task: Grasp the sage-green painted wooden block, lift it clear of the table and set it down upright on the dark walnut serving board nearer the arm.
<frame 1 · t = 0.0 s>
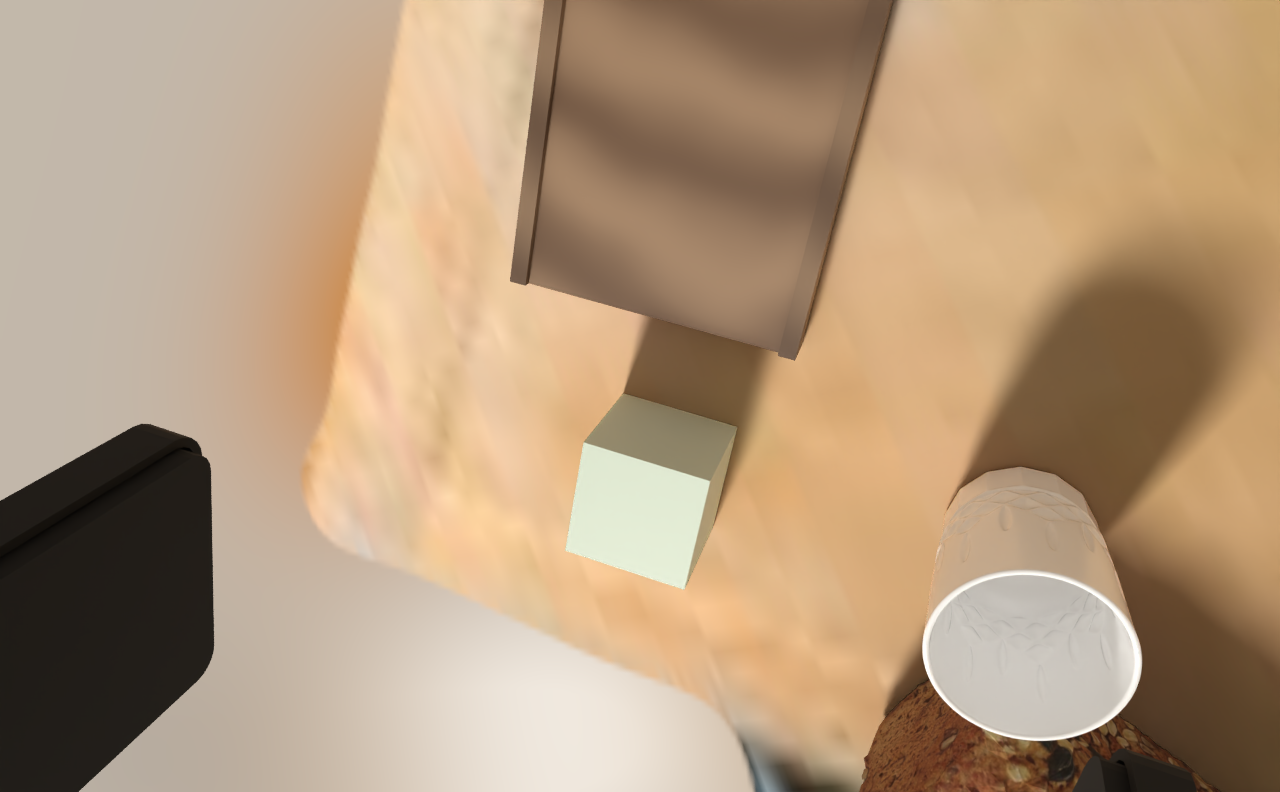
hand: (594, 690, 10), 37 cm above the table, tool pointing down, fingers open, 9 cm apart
sage block: (669, 460, 52), on the table
white cup: (1018, 527, 48), on the table
board: (691, 141, 45), on the table
bread: (1071, 774, 52), on the table
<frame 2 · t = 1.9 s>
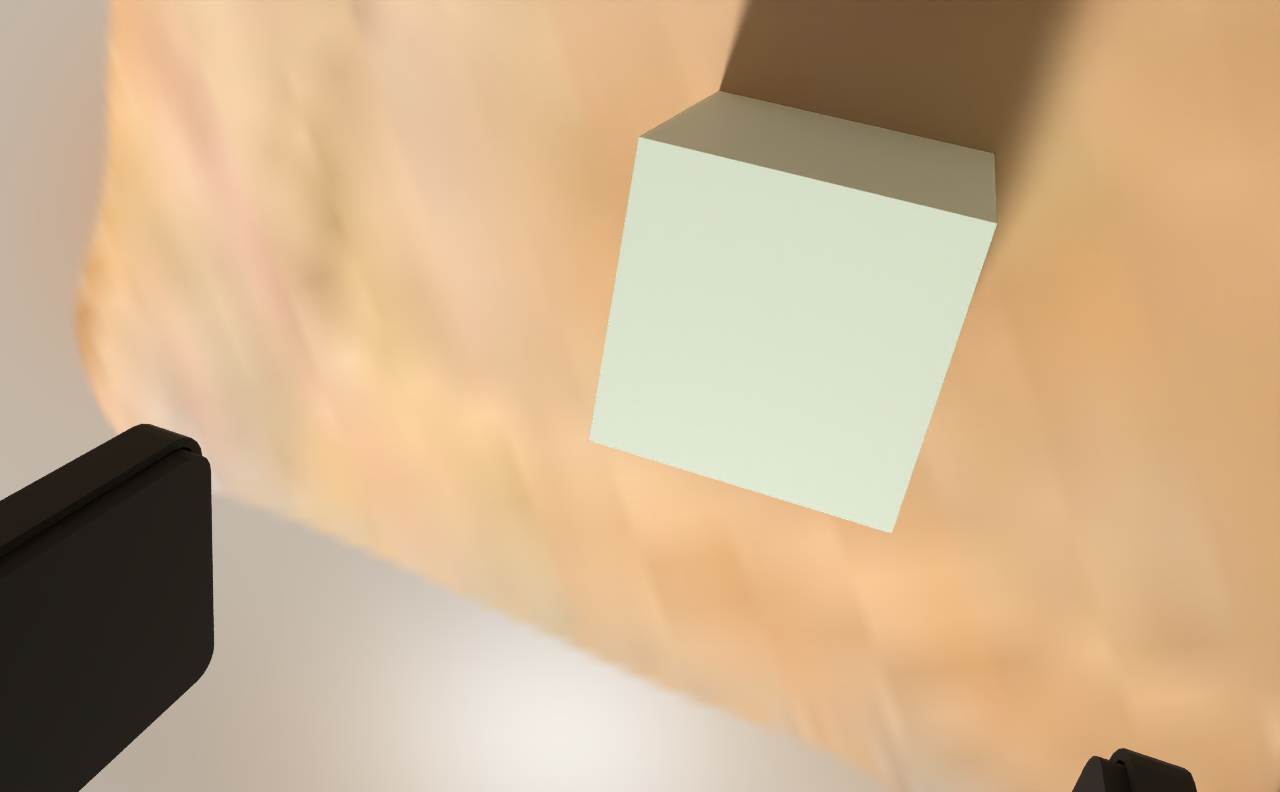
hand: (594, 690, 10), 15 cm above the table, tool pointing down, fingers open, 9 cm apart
sage block: (819, 251, 23), on the table
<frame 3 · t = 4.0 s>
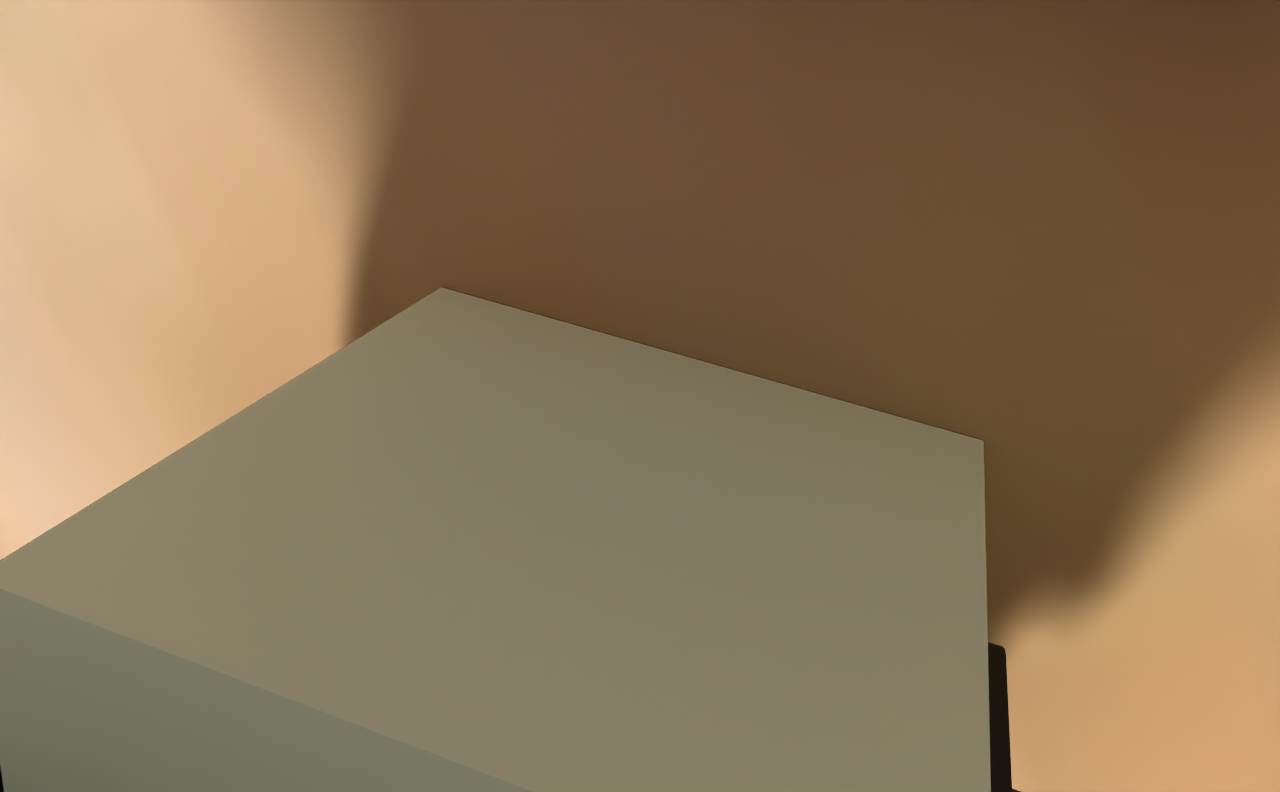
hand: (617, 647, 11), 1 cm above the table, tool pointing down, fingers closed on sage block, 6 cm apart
sage block: (648, 586, 12), on the table, touching gripper
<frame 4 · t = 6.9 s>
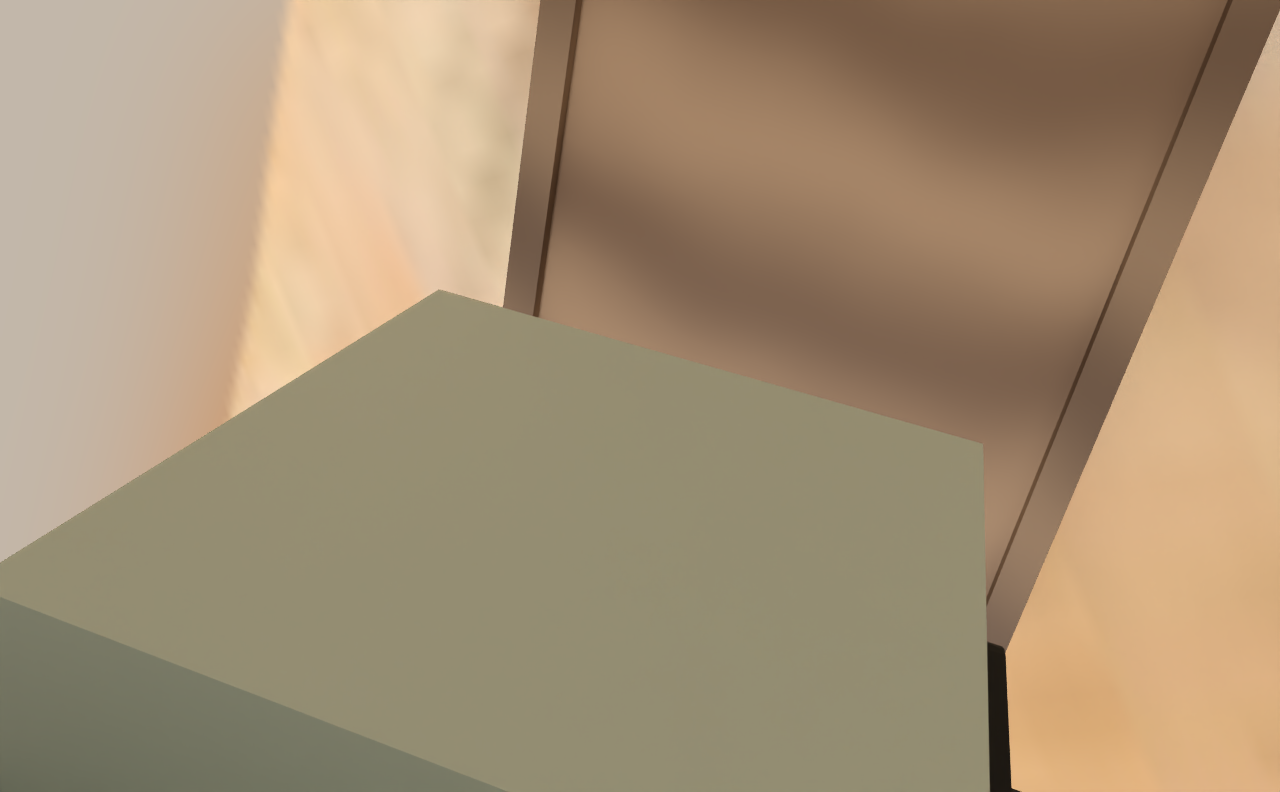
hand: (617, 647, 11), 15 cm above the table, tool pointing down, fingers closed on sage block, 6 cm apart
sage block: (647, 589, 12), point 14 cm above the table, touching gripper
board: (812, 268, 24), on the table
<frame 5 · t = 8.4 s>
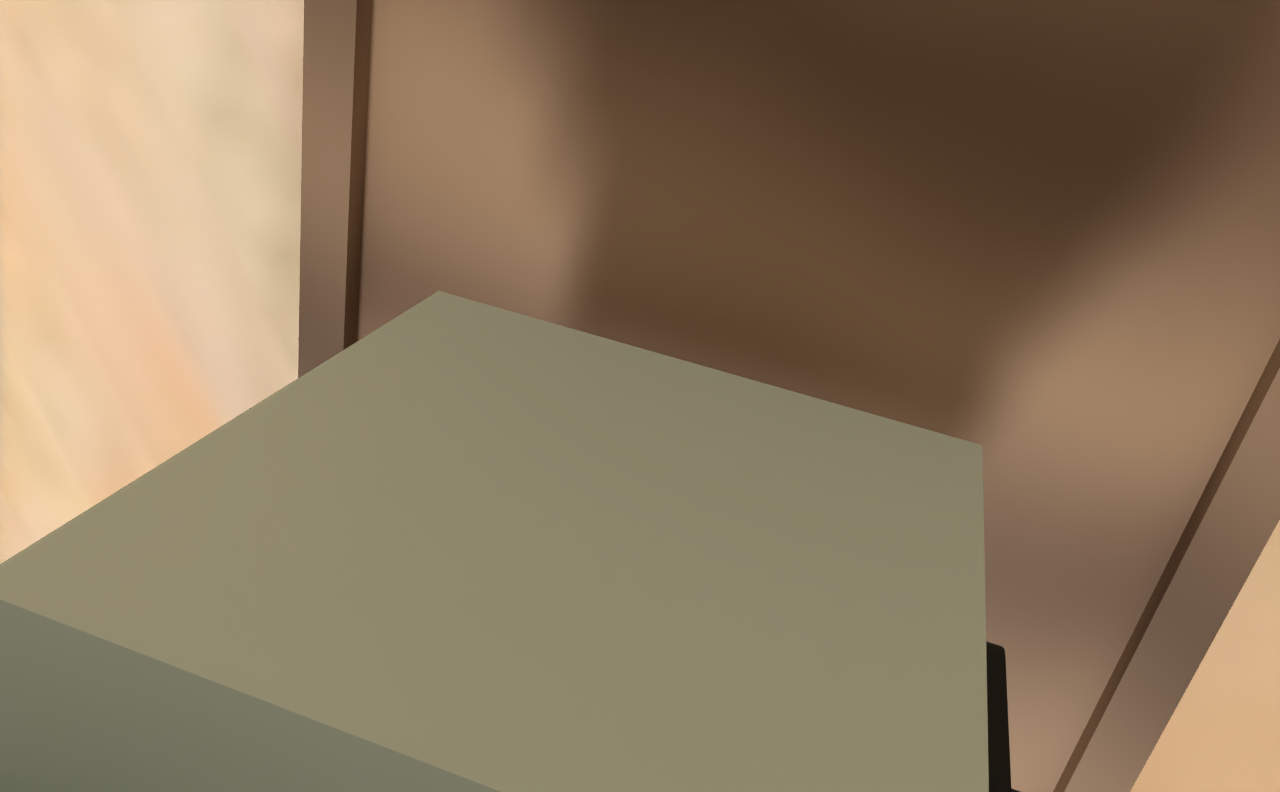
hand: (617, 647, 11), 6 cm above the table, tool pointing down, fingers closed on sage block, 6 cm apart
sage block: (646, 590, 12), point 5 cm above the table, touching gripper
board: (749, 397, 16), on the table
when the fingers open (4 cm above the table, at t = 9.8 s): sage block drops 1 cm, resting on board.
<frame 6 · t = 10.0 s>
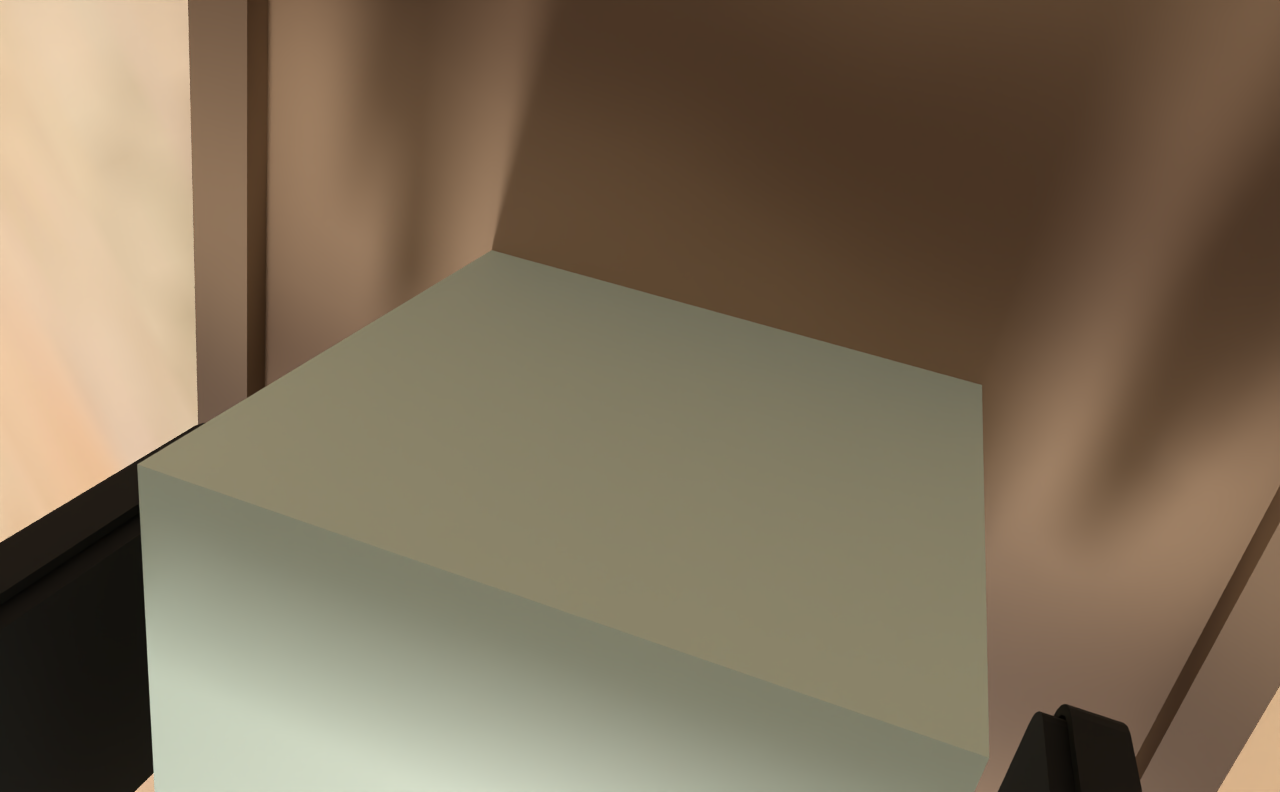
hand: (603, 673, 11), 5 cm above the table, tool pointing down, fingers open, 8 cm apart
sage block: (676, 525, 13), point 1 cm above the table, touching board
board: (704, 478, 15), on the table
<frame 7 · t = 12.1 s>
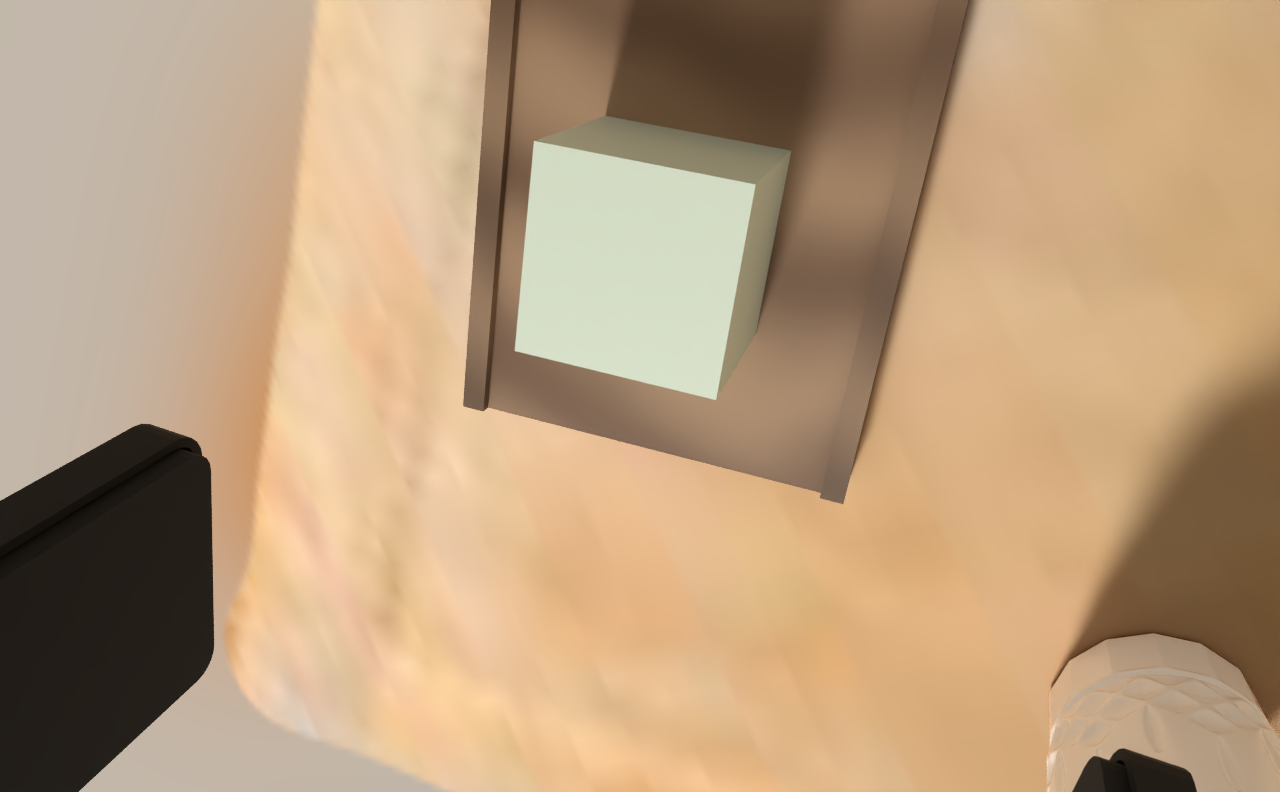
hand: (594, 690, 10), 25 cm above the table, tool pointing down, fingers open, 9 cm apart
sage block: (681, 226, 33), point 1 cm above the table, touching board
white cup: (1148, 709, 36), on the table
board: (693, 219, 34), on the table
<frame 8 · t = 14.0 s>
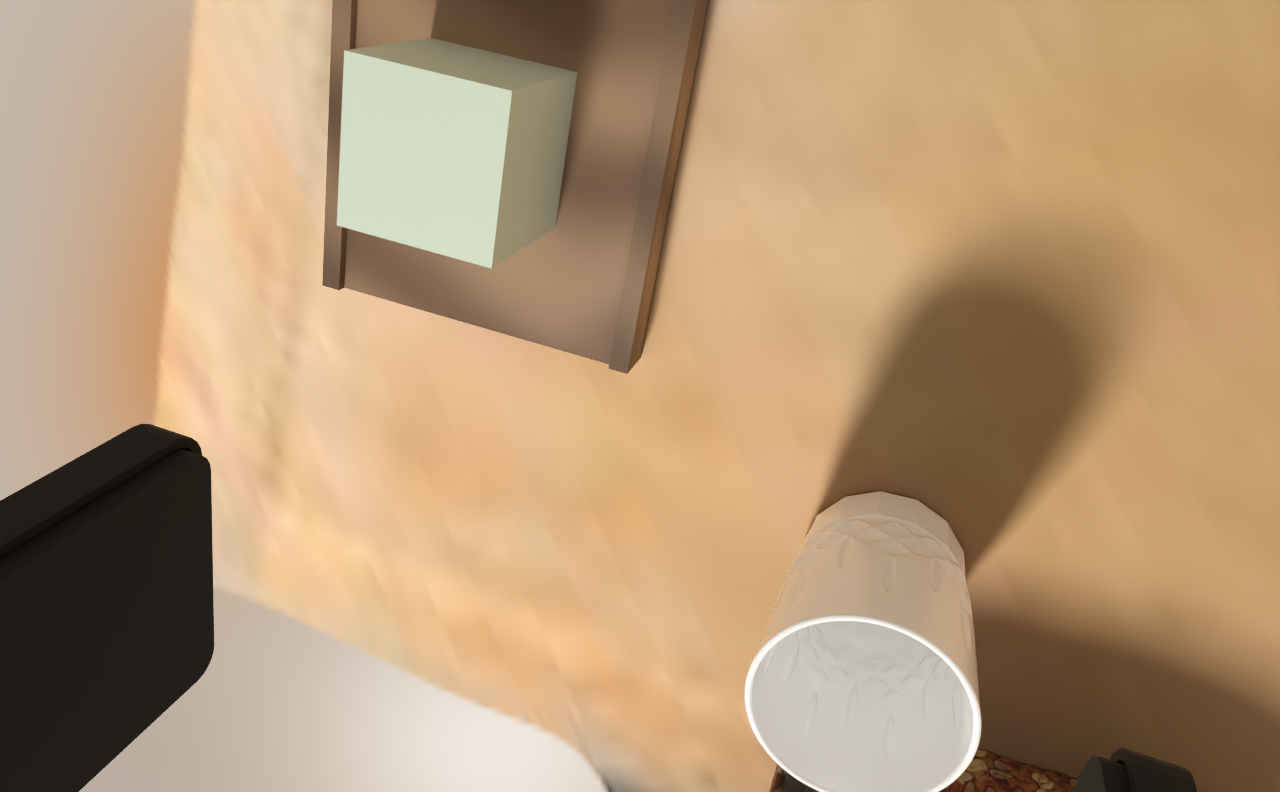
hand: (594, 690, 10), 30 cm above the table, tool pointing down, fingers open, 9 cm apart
sage block: (494, 134, 39), point 1 cm above the table, touching board
white cup: (882, 557, 43), on the table
board: (510, 130, 40), on the table
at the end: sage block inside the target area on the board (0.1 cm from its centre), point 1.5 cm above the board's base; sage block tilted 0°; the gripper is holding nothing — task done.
